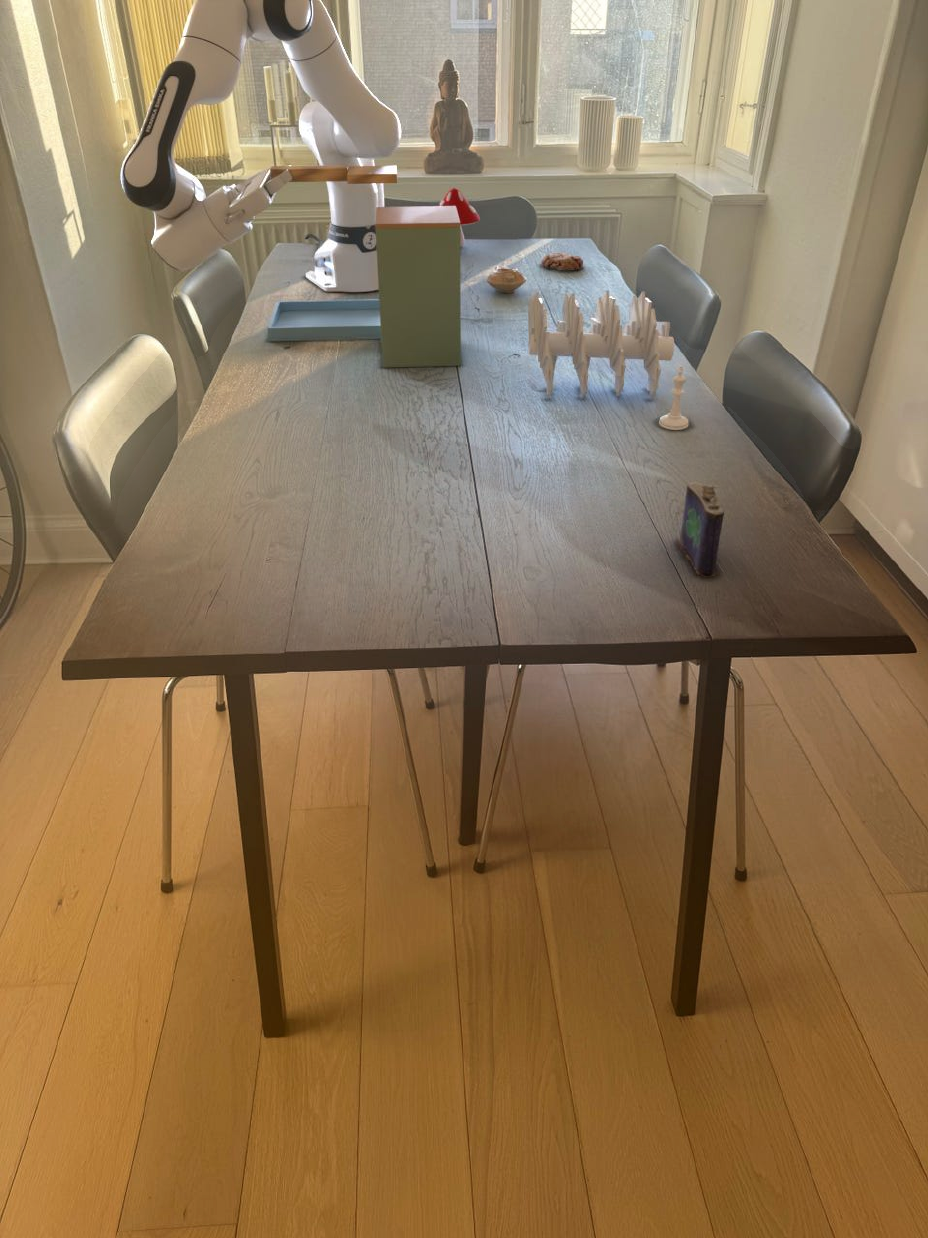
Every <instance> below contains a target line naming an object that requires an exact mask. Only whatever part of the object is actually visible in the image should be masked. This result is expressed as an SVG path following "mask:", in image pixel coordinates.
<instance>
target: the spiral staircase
mask: <svg viewBox="0 0 928 1238" xmlns="http://www.w3.org/2000/svg"><path fill="white" fill-rule="evenodd" d="M528 302H529V303H528V309H527V323H528V324H527V325H528V326H527V327H528V355H529V356H530V355H531V356H537V361H538V363H539V369H541V371H542V374H543V377H544V380H545V382H546V398H548V399H549V398H551V395H552V392H553V388H554V377H555V370H556V363H557V360H558V358H559V357H572V365H573V369H574V370H575V372H576V375H577V378H578V381H579V390H580V393H579V394H580V395H579V396H580V399H584V397H585V395H586V393H587V392H588V379H589V368H590V367H589V366H590V362H591V358H599V359H608V360H609V368H610V369H611V370H612V372H614V388H613V392H615V396H616V397H620V396H621V393H622V390H623V388H624V385H625V378H624V377H625V373H626V367H627V365H626V362H625V361H626V360H643V368H644V370H645V371H646V373H647V385H646V386H647V387H646V391H647V392H649V398H653V397H654V396H655V393H656V392H657V390H658V388H659V381H660V380H659V379H660V376H661V371H662V369H661V366H660V362H659V361H665V362H666V361H668V362H669V361H672V359H673V357H674V352H675V339H674V337H673V336H670V328H671V322H670V321H657V316H656V308H653V307H652V305H653V302H652V301H651V299H650V298H649V297H646V291H644V290H642V291H641V293H640V294H639V295H638V297H637V295H633V296H632V301H631V304H630V308H629V312H628V317H629V322H627V323H623V324H622V325H621V315H620V309H619V305H618V304H616V298H615V297H613V296H611V295H610V290H605V293H604V295H603V297H602V296H598V298H597V302H596V306H595V307H596V308H595V313H594V317H591V318H590V325H589V331H588V332H584V320H583V319H584V317H583V315H584V314H583V313H582V312H580V307H581V306H580V303H579V301H578V299H576V293H574V292H572V293H571V294H570V295H569V294H565V295H564V300H563V304H562V310H561V317H562V318H561V319H562V320H556V329H555V330H556V331H550V330H549V331H548V330H547V329H548V320H547V319H548V318H547V317H548V316H547V309H544V302H543V299H542V297H540V292H539V291H536V292H535V294H534V295H533V294H532V295H530V296H529V301H528Z"/></svg>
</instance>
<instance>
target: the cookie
mask: <svg viewBox="0 0 928 1238" xmlns="http://www.w3.org/2000/svg"><path fill="white" fill-rule="evenodd" d="M540 264H541V266H542V267H545V268H548V269H553V268H554V269H555V268H556V270H559V271H565V270H571V271H572V270H574V271H575V270H579V269H582V268H583V266H584V260H583V258H581V257H580V255H579V256H578V255H572V254H569V253H567V252H553V253H550V254H547V255H545V256H544V257H543V258H542V260H541V263H540Z"/></svg>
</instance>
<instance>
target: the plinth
mask: <svg viewBox="0 0 928 1238" xmlns="http://www.w3.org/2000/svg"><path fill="white" fill-rule="evenodd" d="M375 228H376V248H377V267H378V287H379V289H378V299H379V306H380V326H381V339H380V345H381V363H382V364H381V365H382V368H385V369H386V368H424V367H425V368H426V367H428V368H429V367H460V366H461V365H462V341H461V340H462V335H461V334H462V328H461V326H462V323H461V322H462V318H461V317H462V315H461V313H462V310H461V302H462V301H461V300H462V299H461V297H462V296H461V295H462V294H461V291H462V290H461V286H462V285H461V284H462V283H461V281H462V280H461V247H460V220H459V216H458V212H457V209H456V206H438V205H429V206H428V205H427V206H426V205H425V206H424V205H423V206H420V205H419V206H415V205H414V206H384V207H376V221H375Z"/></svg>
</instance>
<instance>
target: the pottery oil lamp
mask: <svg viewBox="0 0 928 1238" xmlns="http://www.w3.org/2000/svg"><path fill="white" fill-rule="evenodd" d="M485 282H486V283H487V284H489V285H490V286H491V287H492V288H493V289H495V290H496V291H497V292H499V293H502V294H511V293H513V292H515V291H516V290H517V289H519V288H520V287H521V286H523V285H524V284H525V283H526V282H527V278H526V276H524V274H523V273H522V272H521V271H519V270H518V268H510V267H508V266H504V265H499V266H498V265H497V266H495V268H494V270H493V271H492V272H491V273H490V274H489V275H488V276H487V277H486V279H485Z"/></svg>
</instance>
